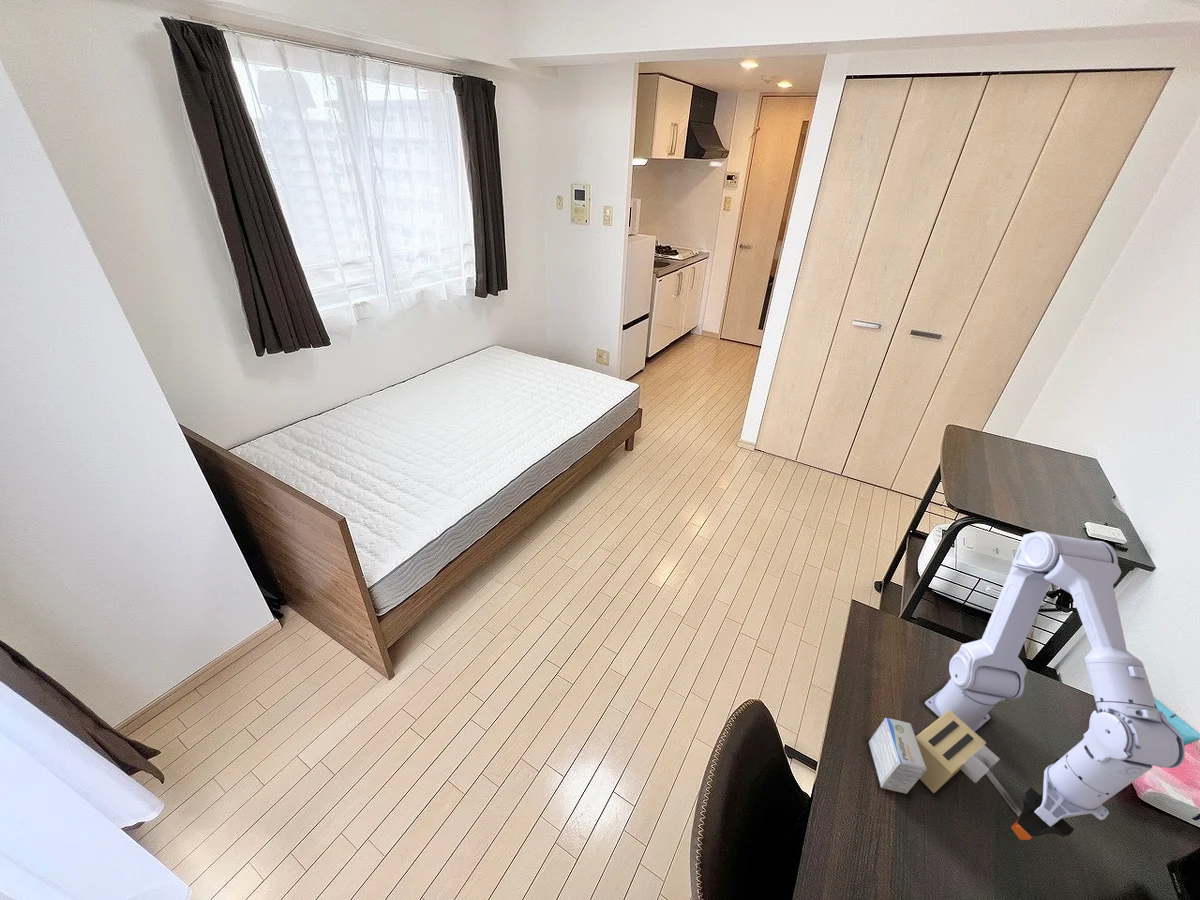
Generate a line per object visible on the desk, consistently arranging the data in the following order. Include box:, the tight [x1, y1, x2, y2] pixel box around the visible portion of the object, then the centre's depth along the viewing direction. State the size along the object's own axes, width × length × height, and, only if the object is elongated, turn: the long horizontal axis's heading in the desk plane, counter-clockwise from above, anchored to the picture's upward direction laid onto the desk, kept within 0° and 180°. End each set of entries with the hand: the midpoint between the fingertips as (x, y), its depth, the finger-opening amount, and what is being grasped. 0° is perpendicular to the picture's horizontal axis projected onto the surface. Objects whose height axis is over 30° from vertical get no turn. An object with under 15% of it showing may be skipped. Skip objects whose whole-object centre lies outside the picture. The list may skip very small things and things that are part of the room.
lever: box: [978, 757, 1034, 841], centre depth 78 cm, size 5×10×2 cm, turn 29°
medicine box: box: [868, 717, 927, 795], centre depth 83 cm, size 8×4×9 cm, turn 168°
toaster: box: [915, 710, 1001, 794], centre depth 84 cm, size 11×9×10 cm
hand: (1037, 814), depth 74 cm, fingers open, 7 cm apart
